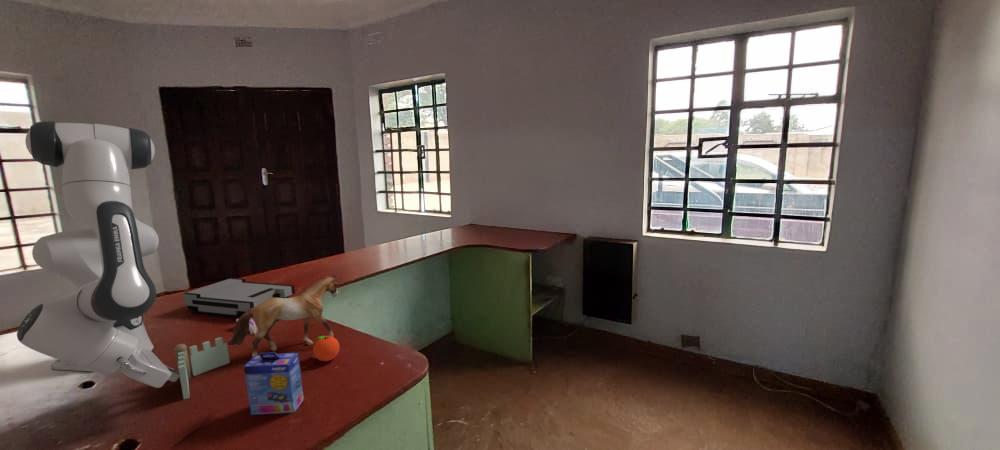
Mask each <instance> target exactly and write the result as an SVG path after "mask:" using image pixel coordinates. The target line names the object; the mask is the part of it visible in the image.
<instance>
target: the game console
mask: <svg viewBox="0 0 1000 450" xmlns="http://www.w3.org/2000/svg"><path fill="white" fill-rule="evenodd" d="M295 289H296V288H295V285H294V284H281V283H270V282H269V283H268V282H255V281H246V278H241V277H240V278H239V277H230V278H228V279H225V280H220V281H218V282H215V283H212V284H209V285H207V286H206V285H205V286H202V287H200V288H197V289H196V288H195V289H194V290H190V291H187V292H184V293H182V298H183V305H184V306H187V309H188V310H191V313H192V314H196V315H203V316H205V315H206V316H215V317H223V318H230V317H231V319H239V318H240V316H242V315H243V314H244V313H245V312H246V311H248V310H250V309H251V308H254V307H256V306H258V305H259V304H261V303H262V302H264V301H265V300H267V299H270V298H290V296H292V295H293V294H296V290H295Z"/></svg>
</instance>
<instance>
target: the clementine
mask: <svg viewBox="0 0 1000 450" xmlns="http://www.w3.org/2000/svg"><path fill="white" fill-rule="evenodd" d="M313 344H314V345H313V349H312V352H313V355H314V357H315V358H316V359H317V360H319V361H320V362H329V361H331V360H333V359H334V358H336V356H337V355H338V354H339V352H340V348H341V347H340V343H339V341H338V339H337V338H336V337H334V336H333V337H332V336H330V335H321V336H318V337H316V338H315V339H314V341H313Z"/></svg>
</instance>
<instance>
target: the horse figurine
mask: <svg viewBox="0 0 1000 450" xmlns="http://www.w3.org/2000/svg"><path fill="white" fill-rule="evenodd" d="M339 276H340V275H336V274H334V275H332V276H330V275H325V276H323V277H321V278H319V279H317V280H315V281H314V282H313V283H312V284H310V285H309V286H308V287H307V288H304V290H302V291H301V292H300V293H299V294H297V295H295V296H292V297H289V298H270V299H267V300H265V301H264V302H262V303H261V304H259V305H258V306H256V307H254V308H251V309H250V310H248V311H246V312H245V313H244V314H243V315H242V316H240V318H237V319H238V321H237V322H236V323H235V325H234V326H233V335H232V338H231V339H230V340H229V341H227V346H234V345H237V346H241V345H242V344H243V342H244V341H245V339H246V337H247V335H248V333H249V331H248V330H249V319H250V318H251V317H252V319H253V320H254V322H255V325H256V327H257V328H258V333H256V335H255V336H256V337H254V339H253V340H252V346H253V347H252V354H251V357H252V358H253V357H254V356H255V355H258V346H259V344H260V342H261V340H262V339H265V340H266V341H267V342H268V344H269V345H270V346H271V347H270V348H271V349H270V350H271V351H272V352H276V351H277V350H278V346H277V345H276V342H275V341H274V340H273V339H272V338H270V335H269V333H270V331H271V330H272V329H273V327H274V326H275V325H276V323H278V322H279V321H296V320H301V319H304V324H303V330H304V335H303V340H304V341H306V345H308V346H312V345H313V344H314V341H312V340H311V339H309V338H308V333H309V324H310V320H311V318H312V319H314V320H315V321H316V322H318V323H320V324H321V325H323V326H324V328H326V330H327V332H328V334H329V335H328V336H332V337H334V333H333V331H332V328H331V326H330V324H329V322H328V321H327V320H326V317H325V316H324V315H323V312H324V306H323V303H322V300H323V298H324V296H325V293H326V291H328V292H329V293H330V295H331V296H332V297H333V298H336V297H337V296H338V294H339V291H338V288H337V287H338V285H339V283H338V281H337V279H338V277H339Z"/></svg>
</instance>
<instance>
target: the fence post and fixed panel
mask: <svg viewBox="0 0 1000 450" xmlns="http://www.w3.org/2000/svg"><path fill="white" fill-rule="evenodd" d="M223 339H224V338H223V336H222V337H221V336H219V337H217V338H214V343H215V345H214V346H211V342H210V340H207V341H204V342H202V349H201V350H198V345H195V344H194V345H191V346H189V347H187V344H185V343H179V344H177V345H176V346H175V347H174V350H173V352H174V354H175V360H176V366H177V371H178V372H177V373H178V374H179V368H178V366H179V365H178V353H179V352H183V351H184V357H185V363H186V369H187V375H188V380H190V379H192V376H193V377H195V376H198V375H200V374H203V373H206V372H208V371H211V370H214V369H217V368H219V367H222V366H225V365H228V364H230V356H229V355H230V354H229V349H228V342H224V340H223ZM188 349H189V354H188ZM179 375H180V374H179ZM178 379H179V382H181V380H180V377H179V378H178Z"/></svg>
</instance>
